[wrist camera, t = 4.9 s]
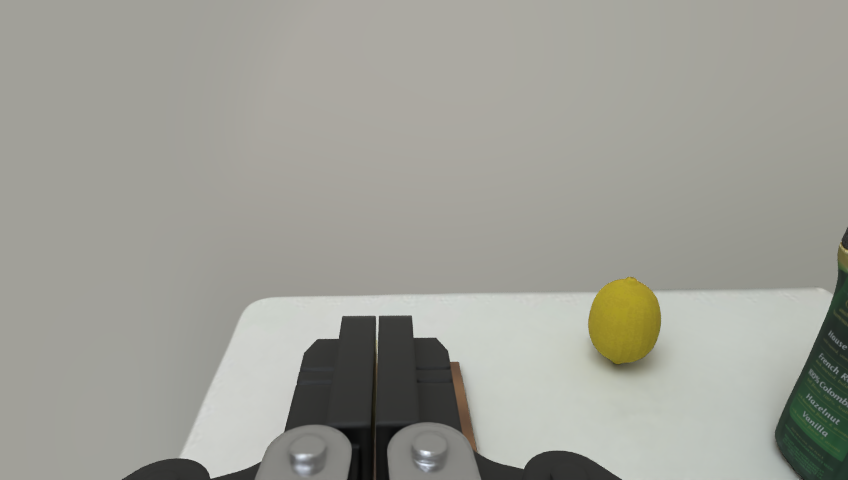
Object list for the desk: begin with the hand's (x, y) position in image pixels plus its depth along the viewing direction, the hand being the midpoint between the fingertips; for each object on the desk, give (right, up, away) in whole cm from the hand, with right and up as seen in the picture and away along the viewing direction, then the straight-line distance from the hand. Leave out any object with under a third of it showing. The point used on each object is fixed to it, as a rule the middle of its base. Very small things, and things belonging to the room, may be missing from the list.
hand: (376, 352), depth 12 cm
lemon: (+17, -8, +35) cm, 40 cm away
